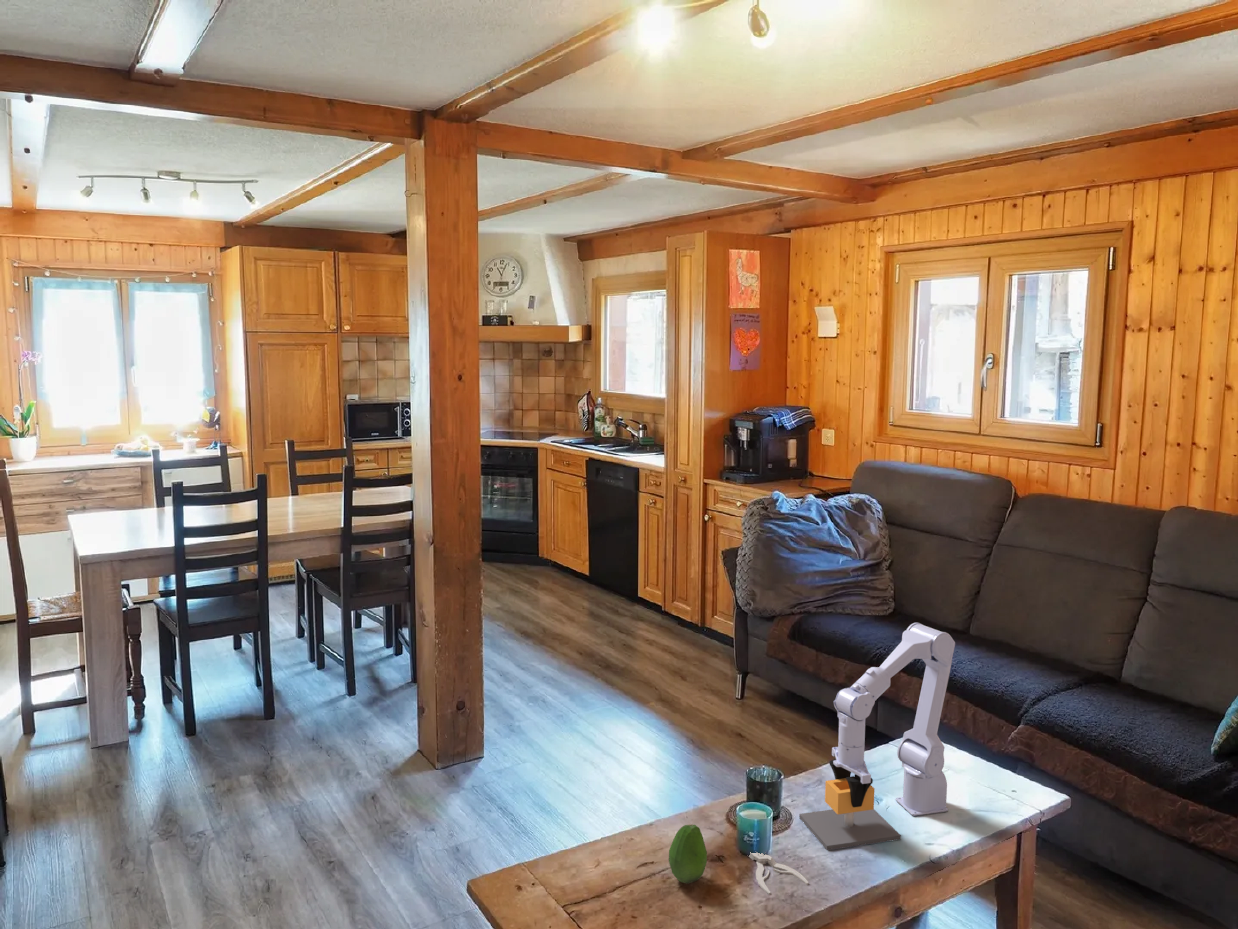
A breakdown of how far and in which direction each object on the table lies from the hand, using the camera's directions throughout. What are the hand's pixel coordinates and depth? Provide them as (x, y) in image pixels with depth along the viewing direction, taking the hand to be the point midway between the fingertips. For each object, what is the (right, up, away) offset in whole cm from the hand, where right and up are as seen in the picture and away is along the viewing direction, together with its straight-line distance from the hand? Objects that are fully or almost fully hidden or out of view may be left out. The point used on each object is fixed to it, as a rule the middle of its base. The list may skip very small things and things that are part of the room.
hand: (849, 799), depth 202 cm
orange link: (0, -2, 0) cm, 2 cm away
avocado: (-38, -10, -18) cm, 44 cm away
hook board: (0, -7, +1) cm, 7 cm away
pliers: (-21, -10, -15) cm, 27 cm away
